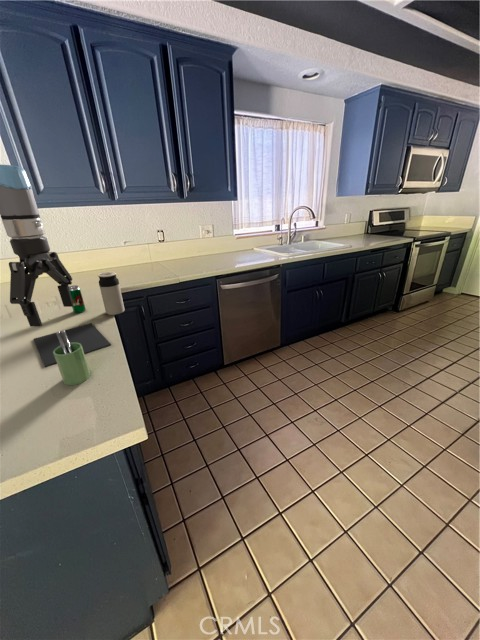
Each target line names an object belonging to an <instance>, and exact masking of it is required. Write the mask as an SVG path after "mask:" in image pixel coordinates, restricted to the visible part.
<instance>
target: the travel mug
mask: <svg viewBox="0 0 480 640" xmlns="http://www.w3.org/2000/svg"><path fill="white" fill-rule="evenodd" d="M97 277H98V278H99V279H98V286H99V290H100V293H101V294H100V295H101V298H102V302H103V306H104V310H105V311H104V312H105V314H106V315H109V316H116V315H120V314H123V313H124V312H125V310H126V309H125V306H124V304H125V303H124V301H123V295H122V290H121V285H120V281H119V278H117V272H115V271H104V272H100V273H98V274H97Z"/></svg>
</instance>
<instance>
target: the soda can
mask: <svg viewBox="0 0 480 640" xmlns="http://www.w3.org/2000/svg"><path fill="white" fill-rule="evenodd" d="M69 289H70V292H71V297H72V301H73V304H74V306H73V307H71V308H72V312H73V313H74V314H81V313H84V312H85V311H86V305H85V301H84V298H83V294H82V291H81V288H80V286H79V285H74V284H73V285H69Z"/></svg>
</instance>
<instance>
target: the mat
mask: <svg viewBox="0 0 480 640" xmlns="http://www.w3.org/2000/svg"><path fill="white" fill-rule="evenodd" d="M61 331H62V330H60V331H59V332H60V334H61V336H62V333H61ZM63 331H65V333H66V336H67V338H68V341H69V343H80V344H81V345H82V348H83V351H84V354H85V355H86V354H89V353H92V352H94V351H97V350H100V349H103V348H106V347H109V346H112V343H111V342H110V341H109V340H108V339H107V338H106V337H105V336H104V335H103V334H102V333H101V332H100V331H99V329H98V328H97V327H96V326H95V325H94V324H93V323H92V322H90V323H85V324H82V325H78V326H75V327H72V328H67V329H64V330H63ZM57 332H58V331H56V332H53V333H50V334H46V335H42V336H38V337H35V338H33V342H34V344H35V346H36V349H37V351H38V354H39V356H40V359H41V362H42V364H43V367H45V368H46V367H49V366H52V365H55V364H56V365H57V362H56V360H55V357H54V354H53V351H54V349H56V348H57V347H59V346H61V345H60V342H59V339H58V337H57V334H56V333H57ZM62 339H63V342H64V344H66V343H65V341H64V338H63V336H62Z"/></svg>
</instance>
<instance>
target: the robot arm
mask: <svg viewBox="0 0 480 640" xmlns="http://www.w3.org/2000/svg"><path fill="white" fill-rule="evenodd" d="M0 218H1V219H0V220H1V221H2V224H3V228H4V231H5V233H6V236H7V237H9V244H10V246H11V249H12V251H13V254H14V255H15V256H18V258H19V259H18V260H19V261H9V262H8V268H9V272H10V284H9V285H10V287H9V303H10V304H11V305H19V306H20V308H21V311H22V313H23V315H24V317H26V320H27V323H28V324H29V327H34V328H35V327H36V328H37V327H39V328H40V327H42V326H43V322H42V320H41V317H40V315H39V312H38V309H37V306H36V304H35V301H32V299H33V298H32V296H33V294H34V289H35V285H36V280H37V279H39V276H41V275H42V276H43V274H46V275H47V276H49V277H50V278H51V279H52V280H54V281H55V282H56V283H57V284H58V285H57V289H58V293H59V295H60V300H61V302H62V307H65V308H66V307H68V308H69V307H70V308H72V307H73V306H74V304H73V301H72V297H71V292H70V289H69V286H72V284H73V282H72V281H73V277H72V275H71V274H70V273H69V271H68V270H67V268H66V267H65V265H64V264H63V263H62V261H61V259H60V258H59V255H58V252H57V251H51V247H50V243H49V240H48V238H47V237H46V236H44V235H45V234H46V232H45V229H44V226H43V222H42V219H41V215H40V211H39V208H38V206H37V201H36V198H35V195H34V191H33V186H32V184H31V183H30V179H29V177H28V174H27V171H26V170H25V169H24V168H23V167H21V166H18V165H13V164H0ZM10 238H11V239H10Z"/></svg>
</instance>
